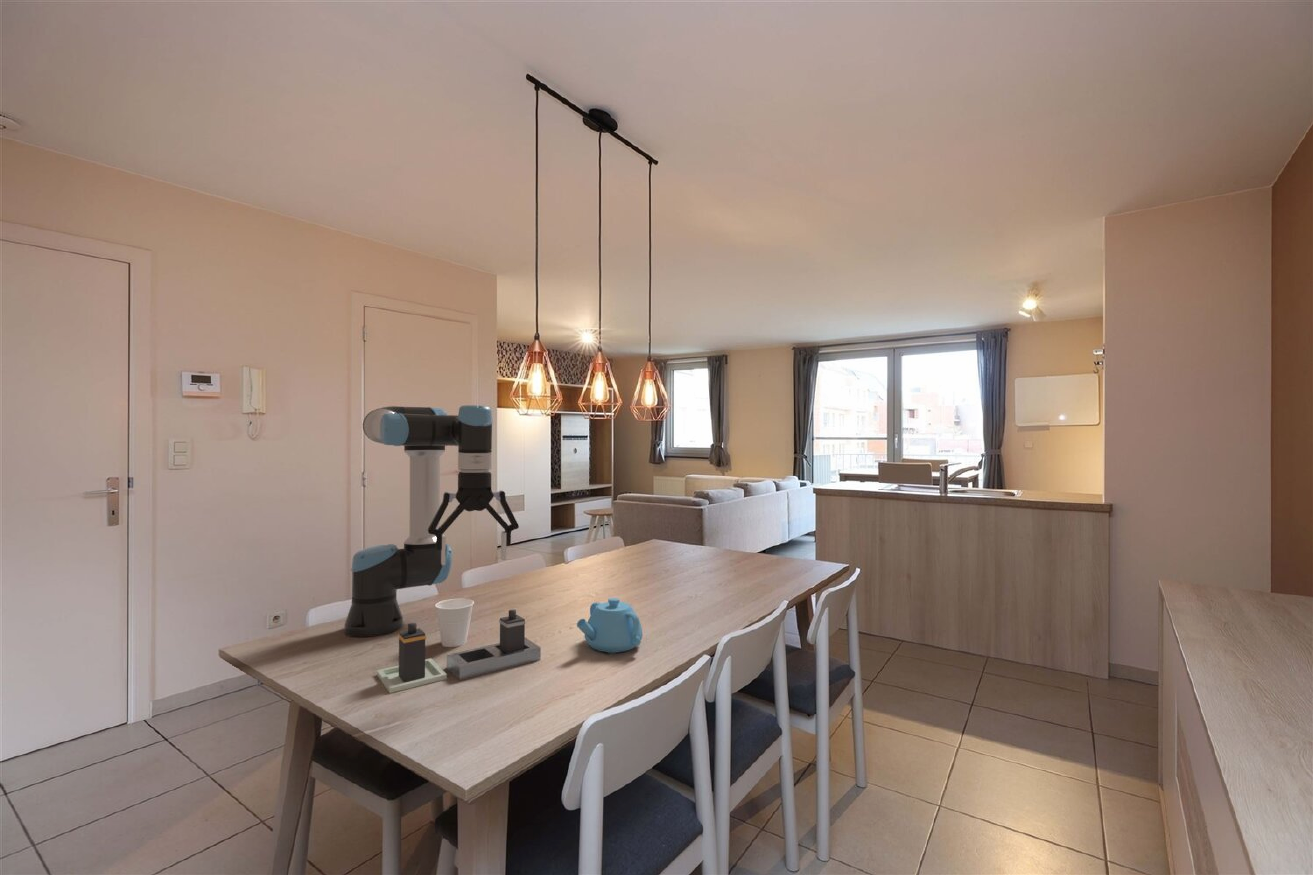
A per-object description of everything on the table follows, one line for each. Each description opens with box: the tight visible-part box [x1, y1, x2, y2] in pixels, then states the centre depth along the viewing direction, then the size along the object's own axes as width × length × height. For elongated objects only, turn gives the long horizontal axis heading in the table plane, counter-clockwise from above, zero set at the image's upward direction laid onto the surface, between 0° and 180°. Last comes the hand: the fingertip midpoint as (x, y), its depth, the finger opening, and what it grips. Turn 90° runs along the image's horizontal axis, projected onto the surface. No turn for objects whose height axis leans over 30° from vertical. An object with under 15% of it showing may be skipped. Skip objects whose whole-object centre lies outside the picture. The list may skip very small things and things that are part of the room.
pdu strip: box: [446, 637, 542, 681], centre depth 137 cm, size 9×20×4 cm, turn 128°
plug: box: [398, 622, 427, 682], centre depth 129 cm, size 5×5×12 cm
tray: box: [376, 657, 448, 694], centre depth 129 cm, size 12×12×2 cm
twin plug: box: [498, 609, 526, 654], centre depth 139 cm, size 5×5×12 cm
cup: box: [434, 598, 475, 648], centre depth 150 cm, size 10×10×11 cm
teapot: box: [576, 597, 643, 655], centre depth 148 cm, size 20×20×13 cm
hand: (474, 561), depth 132 cm, fingers open, 13 cm apart
